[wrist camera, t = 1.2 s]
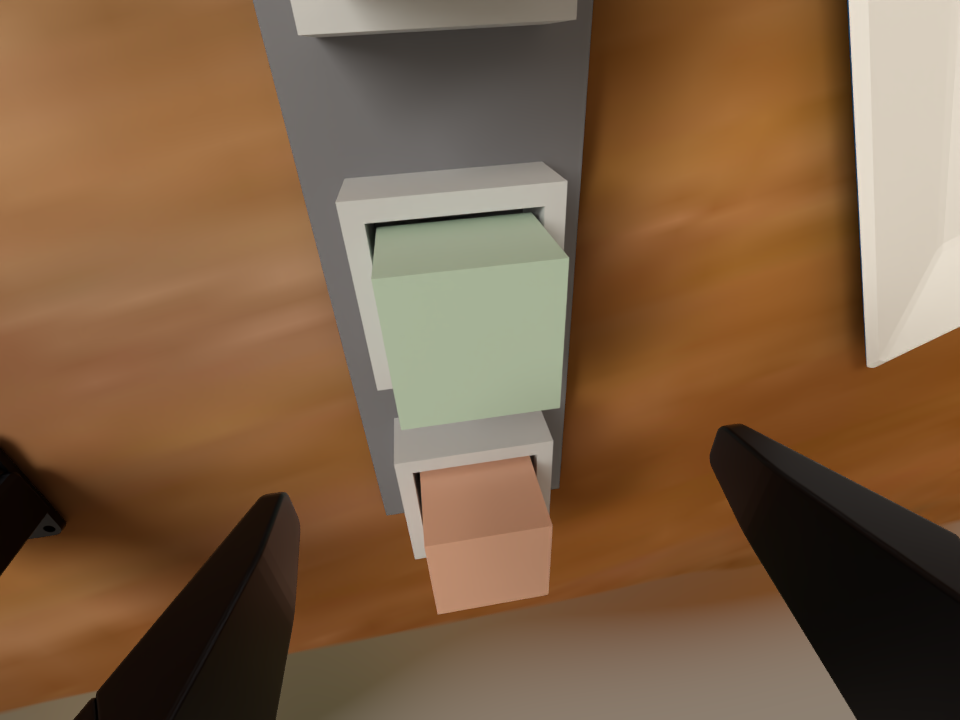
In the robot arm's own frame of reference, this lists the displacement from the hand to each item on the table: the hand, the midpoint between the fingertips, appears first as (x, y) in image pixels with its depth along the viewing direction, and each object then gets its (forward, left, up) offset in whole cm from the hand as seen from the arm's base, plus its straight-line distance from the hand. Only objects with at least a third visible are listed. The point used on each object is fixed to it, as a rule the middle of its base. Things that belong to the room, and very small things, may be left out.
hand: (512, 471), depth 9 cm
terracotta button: (0, -11, -9) cm, 14 cm away
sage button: (0, 0, -9) cm, 9 cm away
